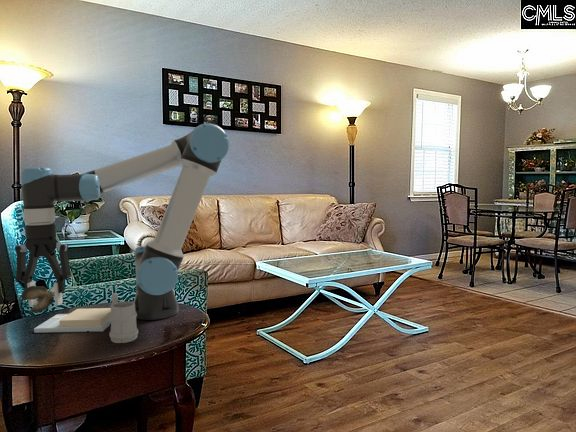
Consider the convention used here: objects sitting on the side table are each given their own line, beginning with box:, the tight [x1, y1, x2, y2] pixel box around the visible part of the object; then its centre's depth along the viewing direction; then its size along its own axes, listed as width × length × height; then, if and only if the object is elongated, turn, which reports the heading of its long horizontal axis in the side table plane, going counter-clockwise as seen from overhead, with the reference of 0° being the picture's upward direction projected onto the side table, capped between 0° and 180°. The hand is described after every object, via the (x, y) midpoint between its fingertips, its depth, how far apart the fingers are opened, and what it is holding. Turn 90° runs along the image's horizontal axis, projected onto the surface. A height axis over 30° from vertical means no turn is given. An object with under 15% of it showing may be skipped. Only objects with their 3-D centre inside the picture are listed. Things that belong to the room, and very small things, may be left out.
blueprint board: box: [33, 307, 111, 334], centre depth 136 cm, size 20×14×3 cm
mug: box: [108, 292, 139, 344], centre depth 125 cm, size 8×12×12 cm, turn 44°
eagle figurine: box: [20, 285, 55, 314], centre depth 122 cm, size 8×7×9 cm
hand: (46, 304), depth 124 cm, fingers closed on eagle figurine, 7 cm apart
